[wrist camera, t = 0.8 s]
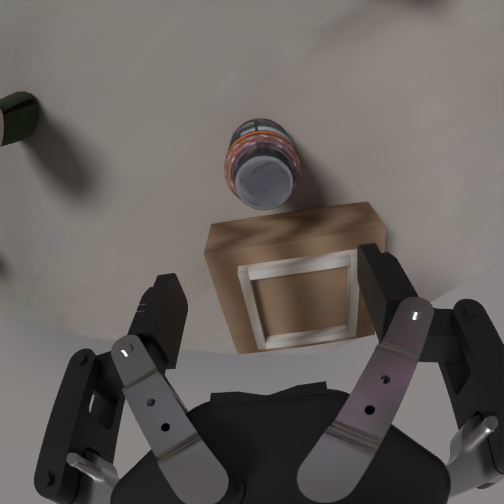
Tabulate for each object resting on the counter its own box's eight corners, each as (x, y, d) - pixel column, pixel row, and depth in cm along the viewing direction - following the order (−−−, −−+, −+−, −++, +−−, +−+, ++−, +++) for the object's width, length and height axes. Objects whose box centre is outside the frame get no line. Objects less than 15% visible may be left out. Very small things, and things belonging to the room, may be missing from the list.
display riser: (367, 201, 33) (390, 233, 27) (363, 303, 41) (376, 341, 35) (211, 224, 35) (202, 261, 29) (239, 321, 43) (237, 361, 37)
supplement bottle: (266, 183, 32) (270, 239, 22) (219, 151, 30) (201, 194, 20) (301, 140, 29) (325, 178, 20) (254, 105, 27) (254, 124, 18)
